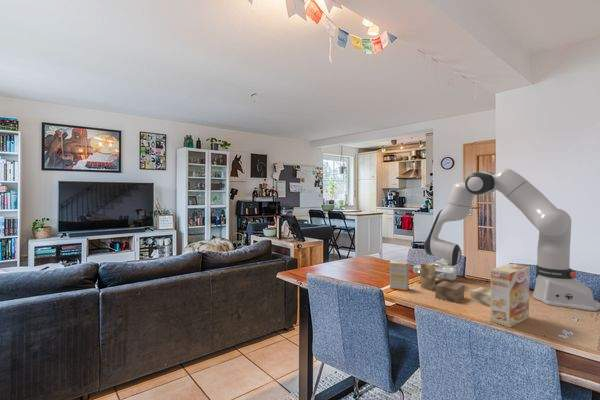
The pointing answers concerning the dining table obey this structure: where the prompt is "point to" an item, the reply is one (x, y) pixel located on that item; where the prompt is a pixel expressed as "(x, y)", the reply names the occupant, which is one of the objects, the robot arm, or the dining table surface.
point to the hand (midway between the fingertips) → (427, 274)
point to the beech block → (481, 296)
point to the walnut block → (449, 291)
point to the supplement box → (399, 275)
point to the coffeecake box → (509, 294)
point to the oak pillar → (428, 276)
